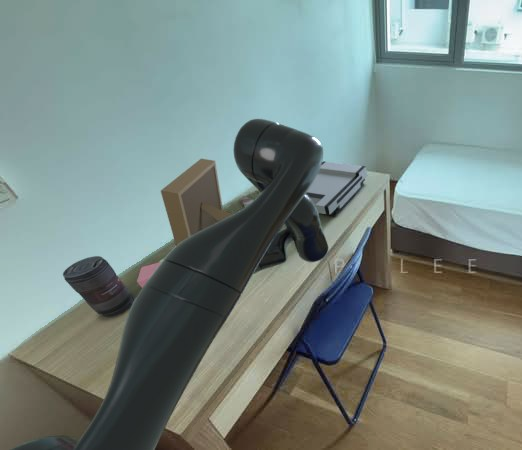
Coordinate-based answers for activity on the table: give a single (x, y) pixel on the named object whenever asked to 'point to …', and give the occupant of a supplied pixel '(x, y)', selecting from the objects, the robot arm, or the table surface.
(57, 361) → the table surface
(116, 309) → the camera lens
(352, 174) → the game console
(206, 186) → the photo frame
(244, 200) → the paintbrush
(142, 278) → the pink box
